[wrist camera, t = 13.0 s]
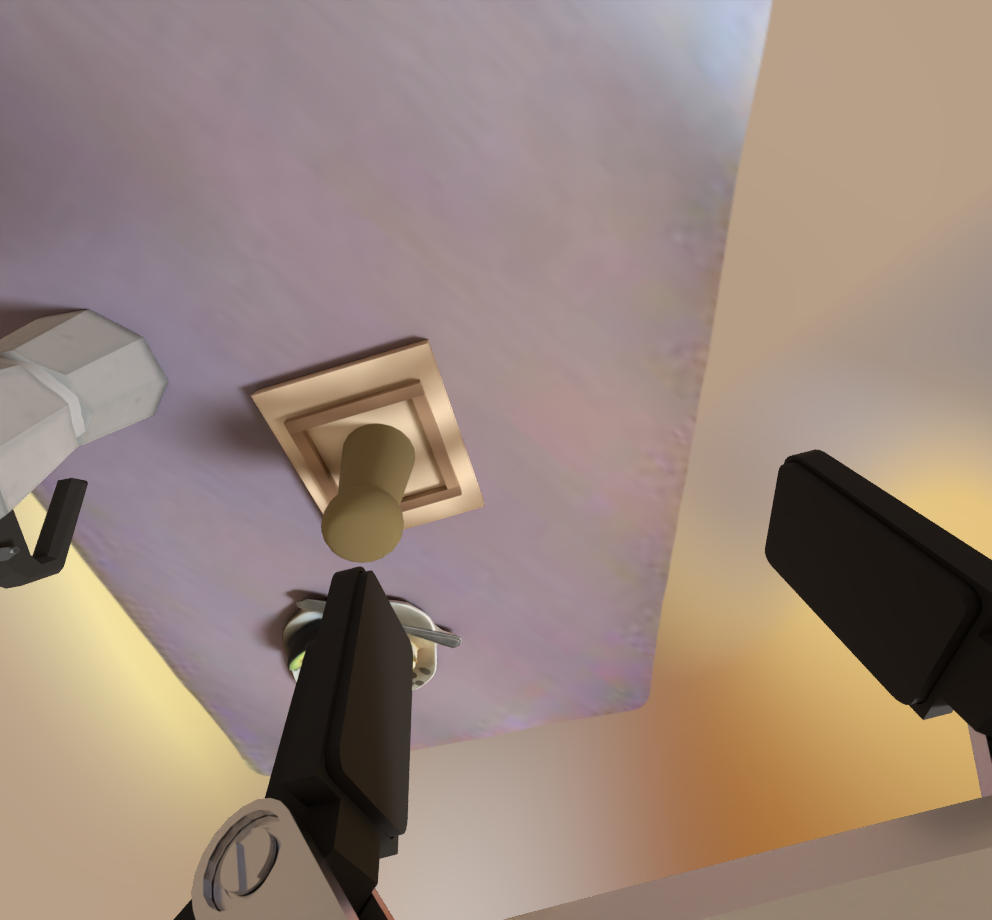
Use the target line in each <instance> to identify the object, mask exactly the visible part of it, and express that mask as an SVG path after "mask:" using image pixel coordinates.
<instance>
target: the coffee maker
mask: <svg viewBox="0 0 992 920" xmlns="http://www.w3.org/2000/svg"><path fill="white" fill-rule="evenodd" d="M167 383H168V380H167V378H166V376H165V374H164V373H163V371H162V369H161V367H160V366H159V364H158V362H157V360H156V359H155V357H154V355H153V353H152V352H151V350H150V348H149V346H148V345H147V343H146V341H145V339H144V338H143V337H142V336H140V335H138V334H136V333H134V332H132V331H130V330H128V329H126V328H124V327H123V326H121V325H119V324H117V323H115V322H113V321H111V320H109V319H107V318H105V317H103V316H101V315H99V314H97V313H96V312H94V311H92V310H90V309H86V310H80V311H74V312H69V313H63V314H57V315H51V316H45V317H39V318H38V319H36V320H34V321H32V322H30V323H29V324H27V325H25V326H23V327H21V328H20V329H18V330H16V331H14V332H12V333H11V334H9V335H7V336H5V337H4V338H2V339H0V587H3V588H11V587H16V586H22V585H25V584H28V583H31V582H33V581H37V580H40V579H42V578H45V577H48V576H51V575H54V574H57V573H59V572H60V571H61V570H62V568H63V567H64V564H65V561H66V557H67V553H68V550H69V547H70V543H71V540H72V536H73V533H74V530H75V526H76V523H77V519H78V516H79V512H80V509H81V505H82V502H83V498H84V495H85V492H86V488H87V485H88V482H87V481H85V480H80V479H74V478H69V479H64V480H58V482H57V485H56V488H55V491H54V494H53V497H52V500H51V503H50V506H49V509H48V512H47V515H46V518H45V521H44V524H43V526H42V530H41V532H40V535H39V539H38V541H37V544H36V547H35V550H34V554H33V556H31V555H30V552H29V550H28V547H27V544H26V542H25V539H24V537H23V534H22V531H21V529H20V526H19V524H18V521H17V518H16V516H15V513H14V510H13V508H14V507H15V506H16V505H17V504H19V502H21V501H22V499H24V498H25V497H26V496H27V495H28V494H29V493H30V492H31V491H32V490H33V489H34V488H35V487H36V486H37V485H38V484H39V483H40V482H42V481H43V480H44V479H45V478H46V477H47V476H48V475H49V474H50V473H51V472H52V471H53V470H54V469H55V468H56V467H57V466H58V465H59V464H60V463H61V462H62V461H63V460H64V459H66V458H67V457H68V456H69V455H70V454H71V453H72V452H73V451H74V450H75V449H76V448H77V447H78V446H81V445H84V444H87V443H89V442H91V441H94V440H96V439H98V438H101V437H103V436H106V435H108V434H110V433H113V432H115V431H117V430H120V429H122V428H125V427H127V426H129V425H132V424H134V423H136V422H139V421H141V420H144V419H146V418H148V417H151V416H153V415H154V414H155V412H156V410H157V407H158V405H159V402H160V400H161V398H162V395H163V393H164V390H165V388H166V386H167Z"/></svg>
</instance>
